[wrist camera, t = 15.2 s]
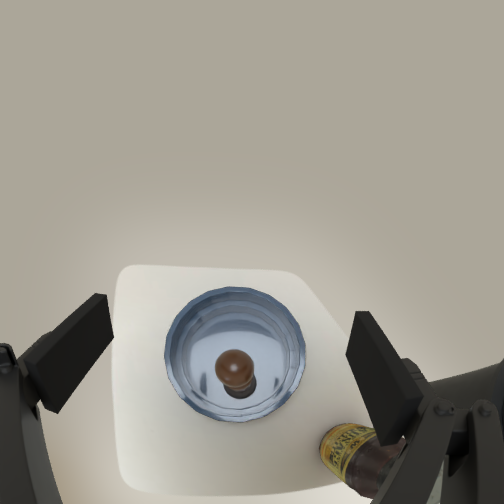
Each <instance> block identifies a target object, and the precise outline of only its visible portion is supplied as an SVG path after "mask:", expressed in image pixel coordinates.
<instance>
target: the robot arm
mask: <svg viewBox="0 0 504 504" xmlns="http://www.w3.org/2000/svg"><path fill="white" fill-rule="evenodd" d="M113 338H114V335H113V330H112V324H111V319H110V313H109V307H108V301H107V295H105V294H98V293H95V294H94V295H92V296H91V297H90V298H89V299H88V300H87V301H86V302H84V304H82V305H81V306H80V307H79V308H78V309H76V310H75V311H74V312H73V313H72V314H71V315H70V316H68V317H67V318H66V319H65V320H64V321H63V322H62V323H61V324H60V325H59V326H57V327H56V328H55V329H54V330H53V331H52V332H49V333H47V334H44V335H42V336H41V337H40V338H39V339H38V340H37V341H36V342H35V343H34V344H33V345H32V347H30V348H28V349H27V350H26V352H24V353H23V354H22V355H21V356H20V357H19V358H18V359H17V360H16V357H15V354H14V352H13V349H12V347H11V346H10V345H9V344H6V343H0V504H63V503H62V500H61V497H60V494H59V491H58V488H57V485H56V482H55V479H54V475H53V472H52V468H51V464H50V460H49V456H48V452H47V449H46V444H45V439H44V434H43V429H42V423H41V418H40V411H39V408H38V406H37V403H38V402H39V400H41V402H42V404H43V406H44V408H45V409H47V410H49V411H52V412H54V413H57V414H58V413H59V411H60V410H61V409H62V407H63V406H64V404H65V403H66V402H67V400H68V399H69V397H70V396H71V395H72V393H73V392H74V390H75V389H76V388H77V386H78V385H79V383H80V382H81V381H82V379H83V378H84V377H85V375H86V374H87V373H88V371H89V370H90V368H91V367H92V366H93V365H94V363H95V362H96V361H97V359H98V358H99V357H100V355H101V354H102V353H103V351H104V350H105V349H106V347H107V346H108V345H109V344H110V342H111V341H112V340H113ZM346 357H347V360H348V362H349V365H350V367H351V370H352V372H353V375H354V377H355V380H356V382H357V385H358V387H359V390H360V393H361V395H362V398H363V400H364V403H365V406H366V408H367V411H368V413H369V416H370V419H371V421H372V424H373V427H374V430H375V432H376V435H377V438H378V441H379V443H380V446H381V447H383V446H389V445H394V444H398V442H399V440H400V439H401V437H402V436H404V438H405V440H406V443H405V444H404V446H403V447H402V449H401V450H400V452H399V453H398V455H397V456H396V457H397V459H396V461H395V463H394V465H393V467H392V468H391V470H390V472H389V474H388V476H387V477H386V479H385V481H384V482H383V484H382V486H381V487H380V489H379V491H378V492H377V494H376V495H375V497H374V499H373V500H372V502H371V503H370V504H427V501H428V499H429V497H430V494H431V492H432V490H433V487H434V485H435V482H436V480H437V477H438V474H439V472H440V469H441V466H442V463H443V460H444V464H443V478H442V488H441V497H440V504H504V442H503V436H502V430H501V424H500V419H499V414H498V410H497V408H496V406H495V405H494V404H493V403H492V402H490V401H488V400H484V399H481V400H477V401H475V402H474V404H473V405H472V407H471V409H457V408H456V407H455V405H454V404H453V403H452V402H451V401H449V400H447V399H444V398H438V396H437V395H436V393H435V392H434V390H433V389H432V387H431V386H430V384H429V383H428V382H427V380H426V379H425V377H424V375H423V374H422V373H421V371H420V369H419V368H418V366H417V365H416V364H415V363H413V362H412V361H411V360H410V359H408V358H405V359H401V358H400V357H399V356H398V354H397V352H396V351H395V349H394V348H393V346H392V345H391V343H390V342H389V340H388V338H387V337H386V335H385V334H384V332H383V331H382V330H381V328H380V327H379V325H378V324H377V322H376V321H375V319H374V318H373V316H372V315H371V313H370V312H369V311H356V312H355V317H354V321H353V326H352V330H351V334H350V338H349V343H348V347H347V351H346ZM502 425H503V430H504V402H503V408H502Z"/></svg>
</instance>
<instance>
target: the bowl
mask: <svg viewBox="0 0 504 504" xmlns="http://www.w3.org/2000/svg"><path fill="white" fill-rule="evenodd" d="M231 349H237V350H241V351H244V352H245V353H247V354H248V355H249V356H250V357H251V359H252V360H253V363H254V375H255V377H256V380H257V386H256V389H255V391H254V393H253V394H252V395H251V396H249V397H248V398H245V399H235V398H233V397H231V396H229V395H228V394H227V393H226V391H225V389H224V386H223V383H221V382H220V381H219V379H218V378H217V376H216V373H215V363H216V360H217V359H218V357H219V356H220V355H221V354H222V353H223V352H225V351H227V350H231ZM164 359H165V364H166V369H167V374H168V377H169V380H170V381H171V383H172V385H173V387H174V388H175V390H176V392H177V393H178V395H179V396H180V398H181V399H183V400H184V401H185V402H186V403H187V404H188V405H189V406H191V407H192V408H193V409H194V410H195V411H197V412H199V413H201V414H203V415H206V416H208V417H210V418H213V419H215V420H218V421H228V422H246V421H250V420H254V419H258V418H262V417H265V416H266V415H268V414H270V413H271V412H273V411H274V410H276V409H277V408H279V407H281V406H282V405H283V404H284V403H285V402H286V401H287V400H288V399H289V397H290V396H291V395H292V394H293V392H294V391H295V390H296V388H297V387H298V385H299V382H300V379H301V377H302V374H303V371H304V368H305V342H304V339H303V336H302V333H301V330H300V326H299V325H298V323H297V321H296V320H295V319H294V317H293V316H292V314H291V313H290V312H289V310H288V309H287V308H286V307H285V306H284V305H282V304H281V303H280V302H278V301H277V300H276V299H274V298H273V297H272V296H270V295H268V294H266V293H263V292H260V291H257V290H254V289H252V288H245V287H224V288H220V289H215V290H211V291H208V292H206V293H204V294H202V295H200V296H199V297H197V298H195V299H193V300H192V301H190V302H189V303H188V304H187V305H186V306H185V307H184V308H183V309H182V310H181V311H180V313H179V314H178V315H177V316H176V317H175V319H174V321H173V323H172V325H171V327H170V330H169V332H168V334H167V336H166V344H165V352H164Z"/></svg>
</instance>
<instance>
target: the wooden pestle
mask: <svg viewBox="0 0 504 504" xmlns="http://www.w3.org/2000/svg"><path fill="white" fill-rule="evenodd" d="M215 373H216V376H217V378H218V379H219V381H220V382H221V383H223V386H224V389H225V391H226V393H227V394H228V395H229V396H231V397H233V398H235V399H245V398H248V397H249V396H251V395H252V394H253V393H254V391H255V389H256V386H257V380H256V377H255V375H254V363H253V360H252V359H251V357H250V356H249V355H248V354H247V353H245V352H244V351H241V350H237V349H231V350H227V351H225V352H223V353H222V354H221V355H220V356H219V357H218V359H217V360H216V363H215Z"/></svg>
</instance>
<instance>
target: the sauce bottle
mask: <svg viewBox="0 0 504 504" xmlns="http://www.w3.org/2000/svg"><path fill="white" fill-rule="evenodd" d="M405 443H406V440H405V439H404V438H402V437H401V439H400V440H399V442H398V444H394V445H389V446H383V447H381V446H380V443H379V441H378V438H377V435H376V432H375V430H374V429H373V428H369V427H366V426H362V425H358V424H351V423H349V424H342V425H339V426H336V427H334V428H332V429H331V430H330V431H328V432H327V433H326V434H325V436H324V438H323V439H322V442H321V444H320V447H319V449H320V454H321V459H322V461H323V463H324V464H325V465H326V466H327V467H328V468H329V469H330V470H331V471H332V472H333V473H334V474H335V475H336V476H338V477H339V478H340V479H341V480H342V481H343V482H344V483H345V484H347V485H348V486H349V487H350V488H352V489H354V490H355V491H356V492H357V493H359V494H360V496H363V497H367V498H371V499H374V497H375V495H376V494H377V492H378V491H379V489H380V487H381V486H382V484H383V482H384V481H385V479H386V477H387V476H388V474H389V472H390V470H391V468H392V467H393V465H394V463H395V461H396V459H397V457H396V456H397V455H398V453H399V452H400V450H401V449H402V447H403V446H404V444H405ZM443 464H444V460H443V463H442V466H441V469H440V472H439V474H438V477H437V480H436V482H435V485H434V487H433V490H432V492H431V494H430V497H429V499H428V501H427V504H439V503H440V497H441V488H442V478H443Z"/></svg>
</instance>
